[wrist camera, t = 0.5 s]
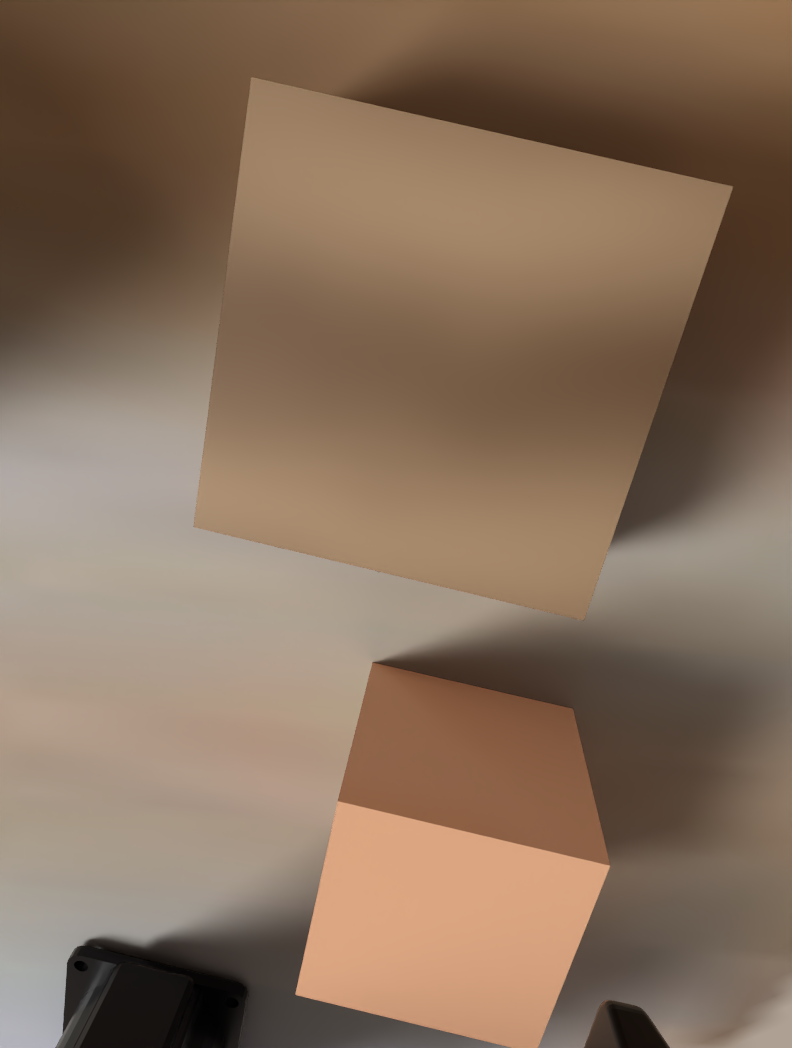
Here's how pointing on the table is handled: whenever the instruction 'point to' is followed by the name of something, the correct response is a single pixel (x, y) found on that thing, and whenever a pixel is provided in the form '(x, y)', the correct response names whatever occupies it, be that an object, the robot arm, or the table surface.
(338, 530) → the block
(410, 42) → the table surface
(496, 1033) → the cube
